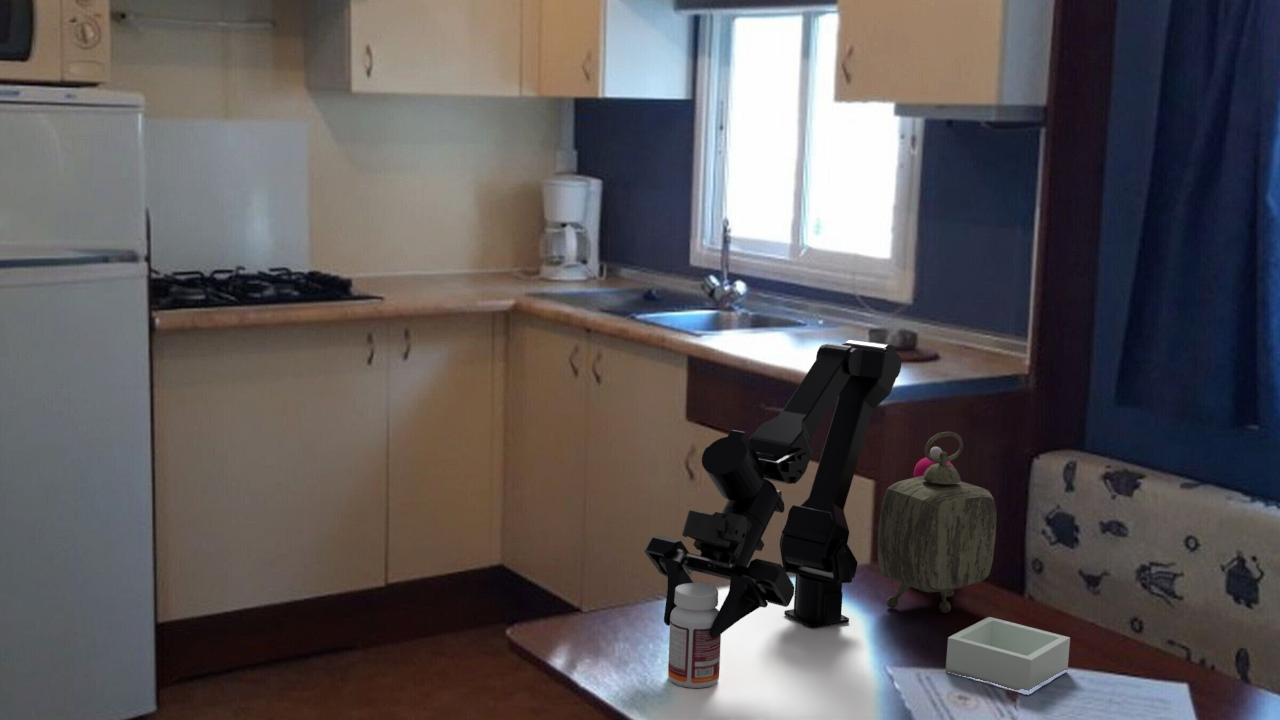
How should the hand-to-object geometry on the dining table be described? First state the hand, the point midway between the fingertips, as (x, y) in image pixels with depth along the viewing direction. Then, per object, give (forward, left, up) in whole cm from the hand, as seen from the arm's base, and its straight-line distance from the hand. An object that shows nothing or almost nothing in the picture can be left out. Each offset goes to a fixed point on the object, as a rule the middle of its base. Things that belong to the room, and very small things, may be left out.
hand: (688, 630), depth 185 cm
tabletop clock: (-10, +46, -7) cm, 48 cm away
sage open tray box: (+13, +38, -7) cm, 41 cm away
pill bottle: (-1, +1, -7) cm, 7 cm away
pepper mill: (-21, +54, -7) cm, 58 cm away
